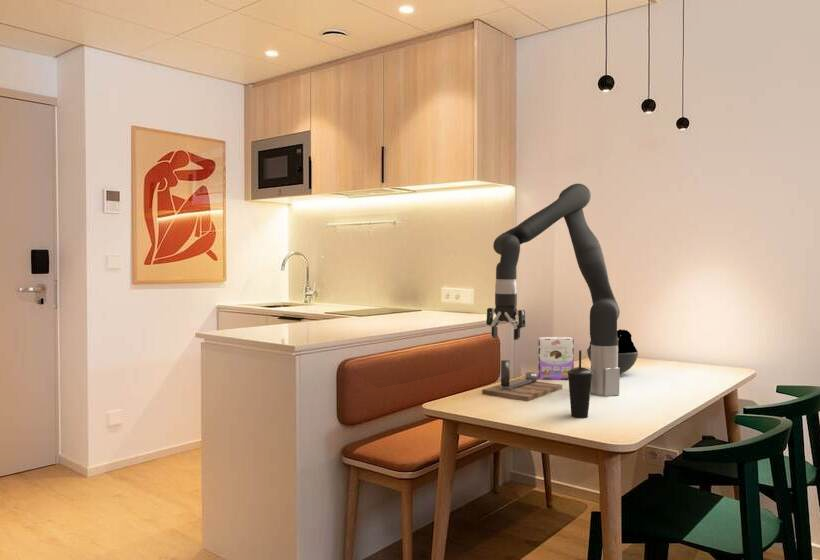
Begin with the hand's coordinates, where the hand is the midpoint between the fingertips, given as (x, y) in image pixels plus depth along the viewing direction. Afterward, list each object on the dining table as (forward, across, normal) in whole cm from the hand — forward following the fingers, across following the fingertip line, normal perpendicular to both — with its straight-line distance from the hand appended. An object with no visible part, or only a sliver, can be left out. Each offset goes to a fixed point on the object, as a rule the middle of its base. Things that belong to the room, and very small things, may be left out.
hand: (505, 338), depth 224 cm
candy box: (+20, 0, -39) cm, 44 cm away
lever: (+18, 0, -10) cm, 20 cm away
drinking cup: (+20, -33, +12) cm, 40 cm away
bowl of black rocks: (+20, -14, -62) cm, 66 cm away
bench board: (+20, -2, -9) cm, 22 cm away
